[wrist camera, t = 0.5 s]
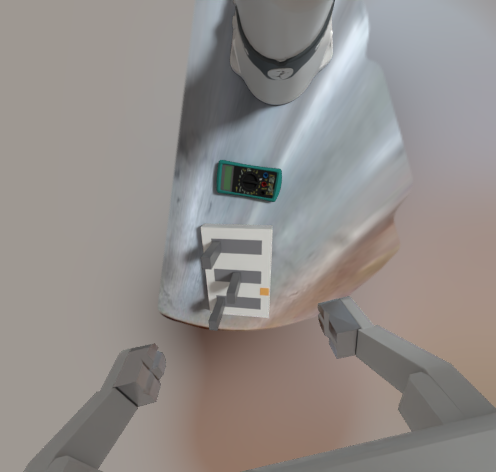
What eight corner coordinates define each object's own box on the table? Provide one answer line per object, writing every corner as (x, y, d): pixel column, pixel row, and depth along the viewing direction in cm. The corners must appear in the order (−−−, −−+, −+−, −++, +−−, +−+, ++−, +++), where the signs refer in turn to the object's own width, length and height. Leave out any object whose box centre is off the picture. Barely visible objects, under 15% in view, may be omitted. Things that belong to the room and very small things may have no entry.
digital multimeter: (277, 200, 46) (277, 203, 43) (218, 190, 46) (215, 192, 44) (283, 169, 43) (284, 169, 40) (220, 159, 43) (217, 159, 41)
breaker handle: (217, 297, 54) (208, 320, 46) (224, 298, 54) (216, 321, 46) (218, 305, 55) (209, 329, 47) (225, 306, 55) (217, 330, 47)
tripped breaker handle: (233, 272, 50) (226, 292, 42) (240, 272, 50) (234, 293, 42) (233, 281, 51) (227, 303, 43) (241, 281, 51) (235, 304, 43)
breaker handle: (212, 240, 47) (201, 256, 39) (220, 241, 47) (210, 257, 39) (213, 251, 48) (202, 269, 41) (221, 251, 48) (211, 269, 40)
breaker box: (204, 223, 49) (200, 227, 47) (272, 225, 47) (272, 229, 45) (213, 305, 60) (209, 313, 57) (268, 310, 58) (268, 318, 55)
